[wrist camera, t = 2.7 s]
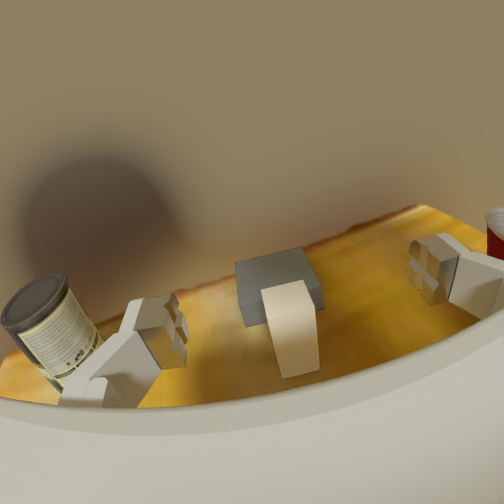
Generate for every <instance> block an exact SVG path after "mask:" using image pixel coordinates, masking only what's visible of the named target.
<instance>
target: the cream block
mask: <svg viewBox="0 0 504 504" xmlns="http://www.w3.org/2000/svg"><path fill="white" fill-rule="evenodd" d="M261 293H262V298H263V302H264V307H265V312H266V317H267V321H268V325H269V329H270V333H271V337H272V341H273V345H274V349H275V353H276V357H277V361H278V365H279V369H280V373H281V376H282V379H285V378H290V377H294V376H298V375H302V374H306V373H310V372H313V371H317V370H320V363H319V349H318V337H317V326H316V315H315V306H314V304H313V302H312V299H311V297H310V295H309V292H308V290H307V288H306V285H305V283H304V281H303V280H299V281H295V282H291V283H287V284H283V285H278V286H274V287H270V288H266V289H262V290H261Z"/></svg>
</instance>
